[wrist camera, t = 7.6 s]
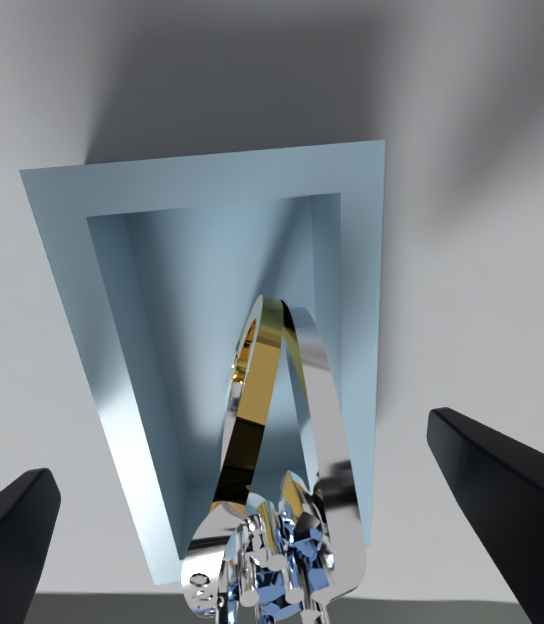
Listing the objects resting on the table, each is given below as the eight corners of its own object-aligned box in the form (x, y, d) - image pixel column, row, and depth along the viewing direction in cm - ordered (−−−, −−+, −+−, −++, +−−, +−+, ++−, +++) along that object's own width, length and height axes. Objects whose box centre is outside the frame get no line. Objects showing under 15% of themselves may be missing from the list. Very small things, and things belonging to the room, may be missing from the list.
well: (338, 147, 11) (385, 139, 8) (340, 468, 16) (370, 545, 13) (82, 168, 10) (18, 170, 7) (169, 497, 15) (154, 585, 12)
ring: (223, 253, 11) (240, 425, 4) (318, 277, 12) (482, 459, 5) (178, 431, 13) (136, 752, 6) (260, 442, 14) (310, 739, 7)
